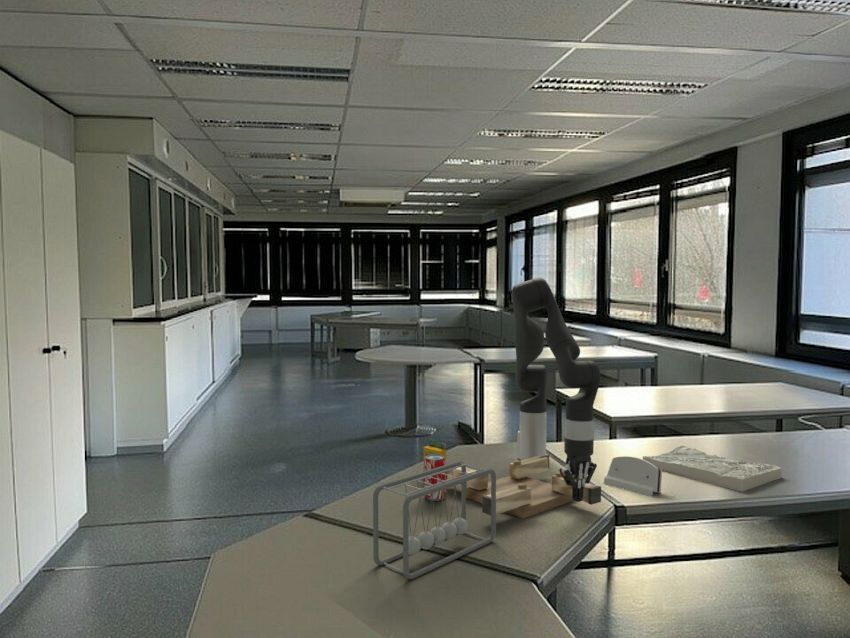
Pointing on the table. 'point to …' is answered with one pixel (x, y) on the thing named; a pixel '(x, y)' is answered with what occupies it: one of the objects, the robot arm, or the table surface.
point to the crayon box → (435, 449)
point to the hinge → (634, 475)
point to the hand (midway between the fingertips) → (577, 500)
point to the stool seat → (515, 489)
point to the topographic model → (715, 468)
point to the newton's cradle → (437, 533)
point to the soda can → (429, 464)
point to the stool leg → (558, 484)
